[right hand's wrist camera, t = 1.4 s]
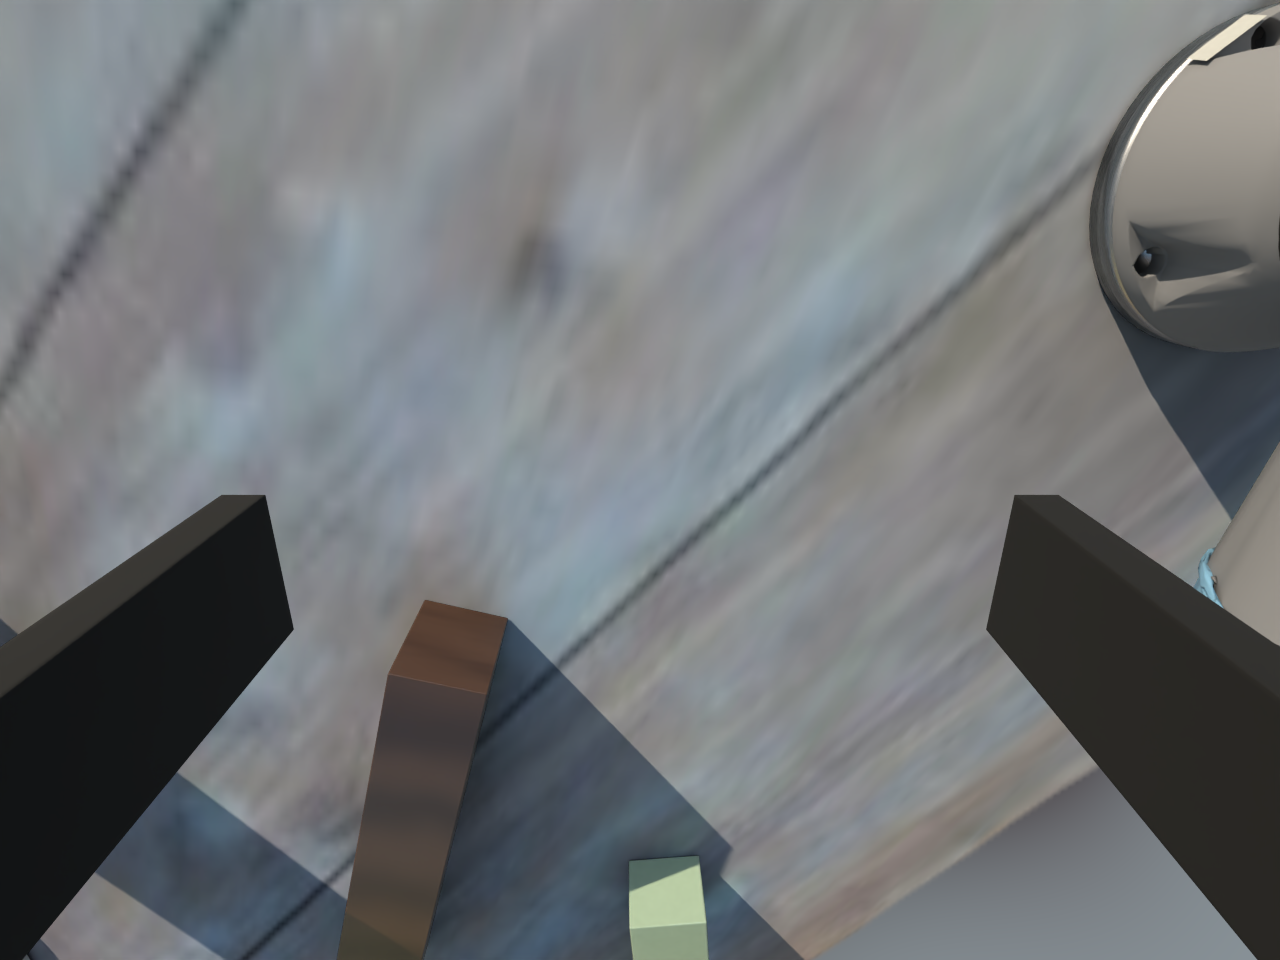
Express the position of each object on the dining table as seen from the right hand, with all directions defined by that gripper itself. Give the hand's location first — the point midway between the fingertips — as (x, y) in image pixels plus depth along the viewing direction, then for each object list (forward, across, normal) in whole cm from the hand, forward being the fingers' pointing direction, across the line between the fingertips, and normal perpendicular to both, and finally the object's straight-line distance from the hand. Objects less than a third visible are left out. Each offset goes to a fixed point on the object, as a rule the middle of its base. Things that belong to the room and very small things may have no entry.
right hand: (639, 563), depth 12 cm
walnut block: (+25, +14, +31) cm, 42 cm away
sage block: (+25, -2, +40) cm, 47 cm away
